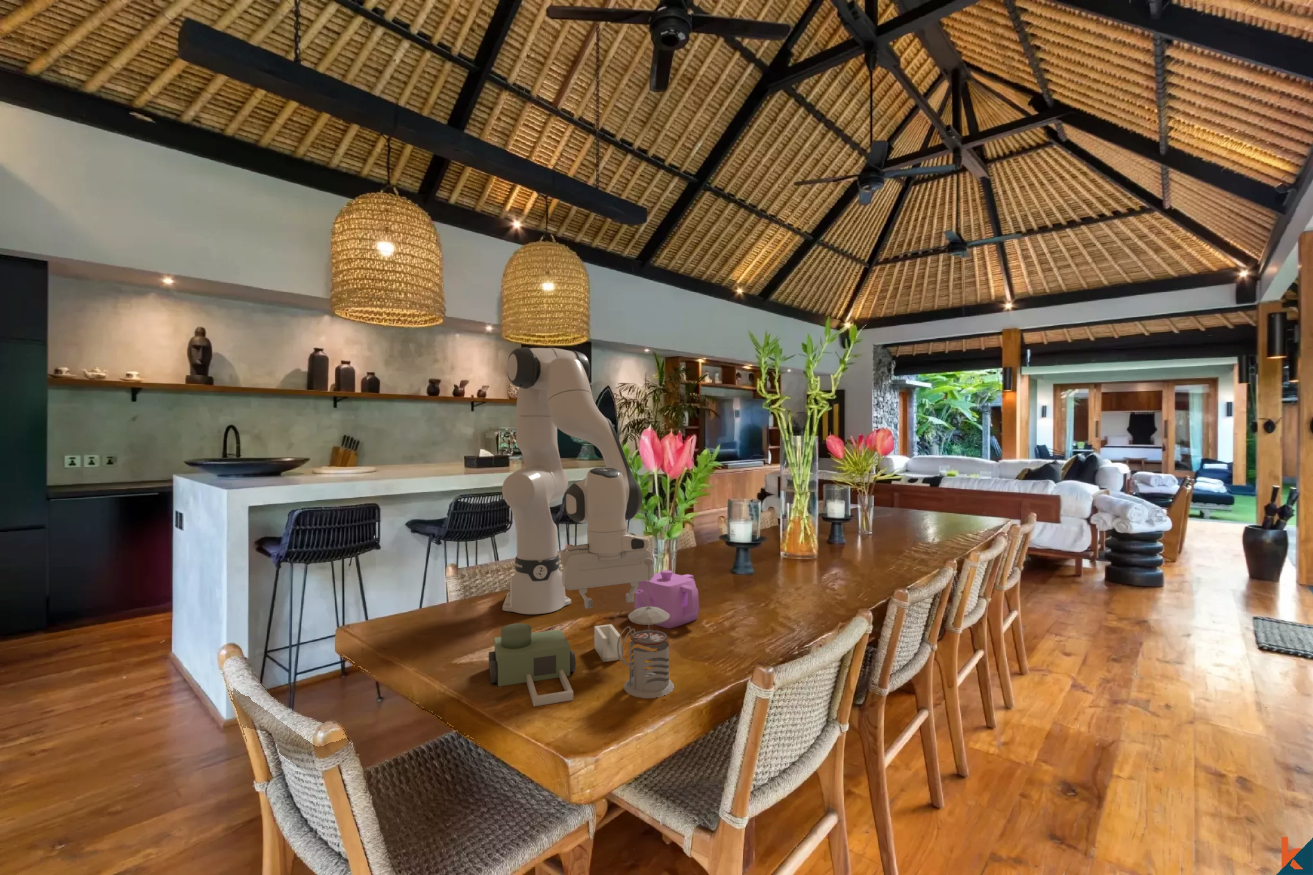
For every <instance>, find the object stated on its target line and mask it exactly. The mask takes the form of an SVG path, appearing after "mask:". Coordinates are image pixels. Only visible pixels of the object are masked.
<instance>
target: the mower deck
mask: <svg viewBox="0 0 1313 875" xmlns="http://www.w3.org/2000/svg"><path fill="white" fill-rule="evenodd" d="M493 639H494V640H493V642H494V644H493V645H494V646H493V648H494V650H493V651H488V672H489V675H490V676H489V678H490V684H495V683H497V687H504V686H505V687H506V686H511V685H518V684H523V683H526V685H527V689H528V692H529V695H530V699H531V701H532V705H533V707H539V706H545V705H551V704H556V703H563V702H569V701H573V700H574V690H573V689H572V686H571V683H570V682H569V679H568V677H570V676H571V673H572V672H575V671H576V665H577V664H576V653H575V651H574V650H571V645H570V642H569V641H568V640H567V638H566V636H565V634H564V632H563V631H562V629H554V630H545V631H537V632H532V626H531V625H530V624H527V623H510V624H507V625H505V626H503V627H502V628H501V629H500V636H495V637H494V638H493ZM557 678H559V681H560V683H561V686H562V688H563V689H564V691H558V692H551V693H544V694H538V692H537V690H536V686H535V684H534V682H537V681H545V680H551V679H557Z"/></svg>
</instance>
